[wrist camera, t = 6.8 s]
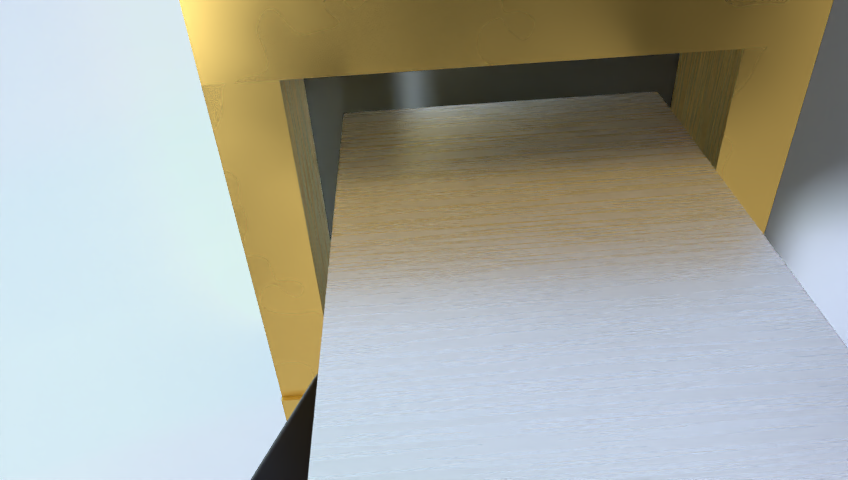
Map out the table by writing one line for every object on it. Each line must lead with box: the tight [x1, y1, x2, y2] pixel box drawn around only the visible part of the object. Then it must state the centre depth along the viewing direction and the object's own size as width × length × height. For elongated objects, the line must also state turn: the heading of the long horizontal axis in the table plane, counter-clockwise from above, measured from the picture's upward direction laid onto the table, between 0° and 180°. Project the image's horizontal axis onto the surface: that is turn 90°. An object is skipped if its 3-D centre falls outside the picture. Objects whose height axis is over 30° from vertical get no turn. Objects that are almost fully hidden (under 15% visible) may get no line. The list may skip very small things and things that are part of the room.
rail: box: [179, 0, 833, 420], centre depth 16 cm, size 24×8×2 cm, turn 3°
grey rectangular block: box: [308, 91, 848, 480], centre depth 8 cm, size 4×4×7 cm
